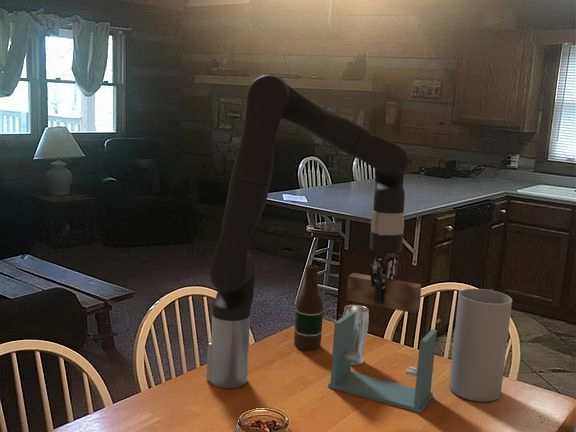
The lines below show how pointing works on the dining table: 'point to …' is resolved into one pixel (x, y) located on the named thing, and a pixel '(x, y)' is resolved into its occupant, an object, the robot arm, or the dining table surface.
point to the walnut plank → (396, 293)
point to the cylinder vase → (480, 344)
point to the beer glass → (358, 330)
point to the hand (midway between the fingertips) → (382, 300)
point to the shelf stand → (373, 386)
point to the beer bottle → (309, 313)
